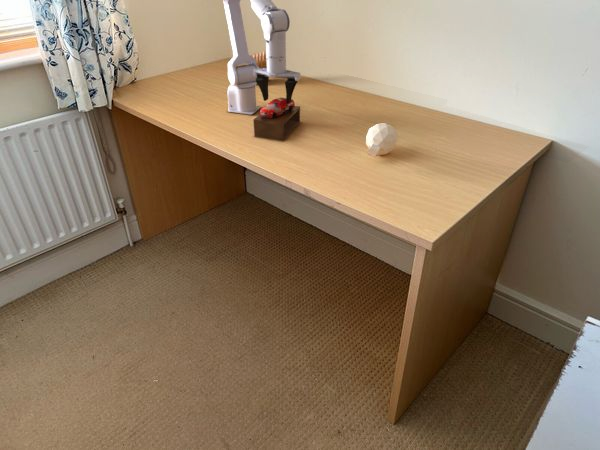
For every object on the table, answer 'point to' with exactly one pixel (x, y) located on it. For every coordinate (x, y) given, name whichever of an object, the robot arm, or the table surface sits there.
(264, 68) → the robot arm
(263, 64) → the ammunition clip
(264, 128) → the shelf
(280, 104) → the race car
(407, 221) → the table surface
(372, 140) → the white faceted rounded lump
